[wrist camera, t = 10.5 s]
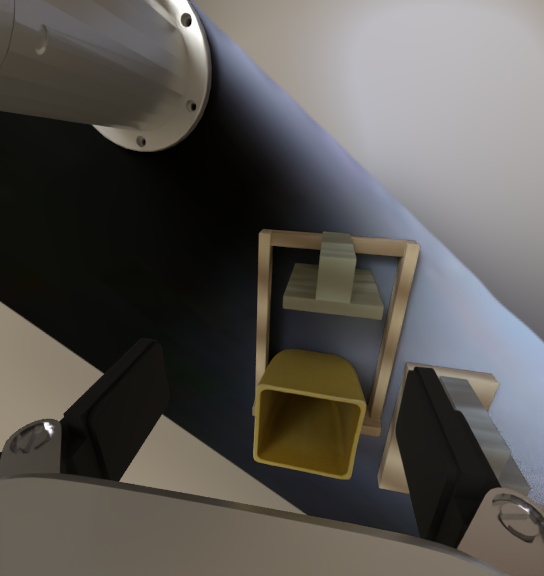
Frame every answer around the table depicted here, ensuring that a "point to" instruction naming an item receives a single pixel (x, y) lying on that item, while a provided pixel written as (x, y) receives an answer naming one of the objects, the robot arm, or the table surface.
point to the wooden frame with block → (338, 295)
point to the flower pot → (309, 413)
